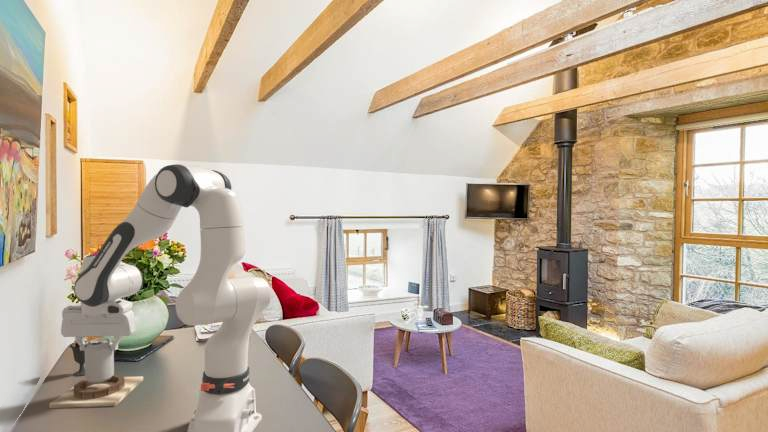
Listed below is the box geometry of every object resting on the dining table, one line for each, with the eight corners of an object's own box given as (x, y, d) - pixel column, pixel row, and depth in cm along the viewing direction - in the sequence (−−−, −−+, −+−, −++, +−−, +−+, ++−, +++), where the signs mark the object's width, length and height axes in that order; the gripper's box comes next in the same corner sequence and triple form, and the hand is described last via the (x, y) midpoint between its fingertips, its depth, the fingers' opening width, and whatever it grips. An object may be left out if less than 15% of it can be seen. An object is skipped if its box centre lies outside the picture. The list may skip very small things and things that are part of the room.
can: (79, 381, 133) (78, 343, 132) (103, 372, 140) (102, 335, 139) (96, 386, 130) (95, 346, 129) (119, 376, 137) (119, 338, 136)
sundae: (82, 368, 153) (81, 326, 152) (98, 370, 152) (97, 327, 151) (64, 376, 147) (64, 332, 146) (81, 378, 145) (80, 333, 145)
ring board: (115, 405, 127) (115, 395, 127) (49, 408, 125) (49, 397, 125) (143, 379, 145) (143, 370, 144) (85, 381, 143) (85, 371, 143)
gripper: (55, 308, 129) (56, 354, 130) (128, 307, 131) (128, 353, 132) (68, 303, 136) (69, 346, 136) (137, 302, 138) (138, 345, 138)
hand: (99, 349), depth 134 cm, fingers closed on can, 7 cm apart
